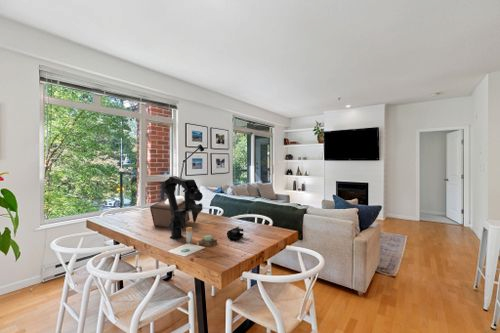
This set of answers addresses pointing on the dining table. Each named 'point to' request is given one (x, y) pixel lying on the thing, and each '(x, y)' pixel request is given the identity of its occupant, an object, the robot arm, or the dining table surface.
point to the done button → (208, 238)
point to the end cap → (235, 234)
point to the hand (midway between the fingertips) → (189, 223)
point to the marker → (189, 235)
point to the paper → (186, 249)
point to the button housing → (208, 244)
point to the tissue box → (166, 212)
